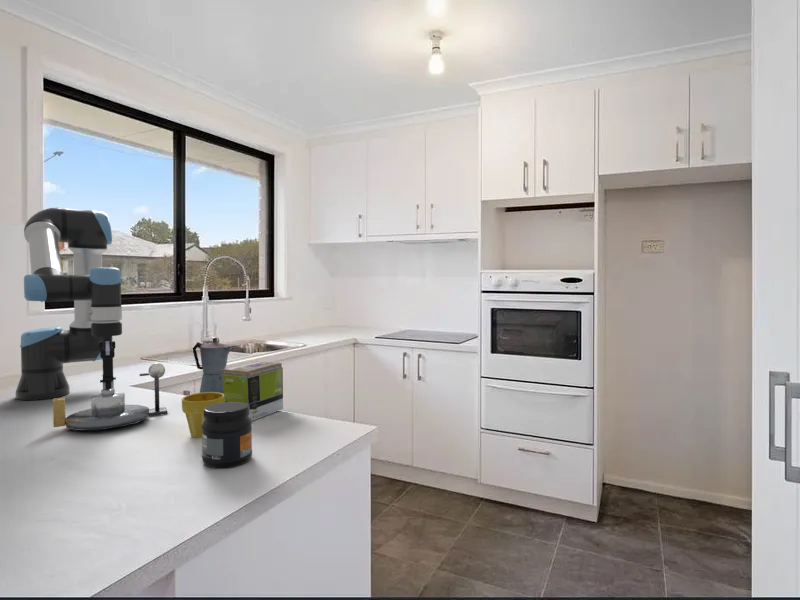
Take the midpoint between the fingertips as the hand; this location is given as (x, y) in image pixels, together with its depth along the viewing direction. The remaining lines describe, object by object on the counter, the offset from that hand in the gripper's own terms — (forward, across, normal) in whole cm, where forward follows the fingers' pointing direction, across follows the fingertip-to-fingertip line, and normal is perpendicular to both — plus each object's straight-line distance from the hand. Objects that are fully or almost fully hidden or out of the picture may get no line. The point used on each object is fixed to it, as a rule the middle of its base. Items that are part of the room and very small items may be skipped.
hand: (108, 403), depth 140 cm
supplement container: (+5, +52, +22) cm, 56 cm away
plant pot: (+5, +28, +21) cm, 36 cm away
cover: (+2, +5, 0) cm, 5 cm away
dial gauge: (+4, 0, +11) cm, 12 cm away
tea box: (+5, +16, +37) cm, 41 cm away
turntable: (+3, +5, -1) cm, 6 cm away
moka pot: (+5, -16, +31) cm, 35 cm away
